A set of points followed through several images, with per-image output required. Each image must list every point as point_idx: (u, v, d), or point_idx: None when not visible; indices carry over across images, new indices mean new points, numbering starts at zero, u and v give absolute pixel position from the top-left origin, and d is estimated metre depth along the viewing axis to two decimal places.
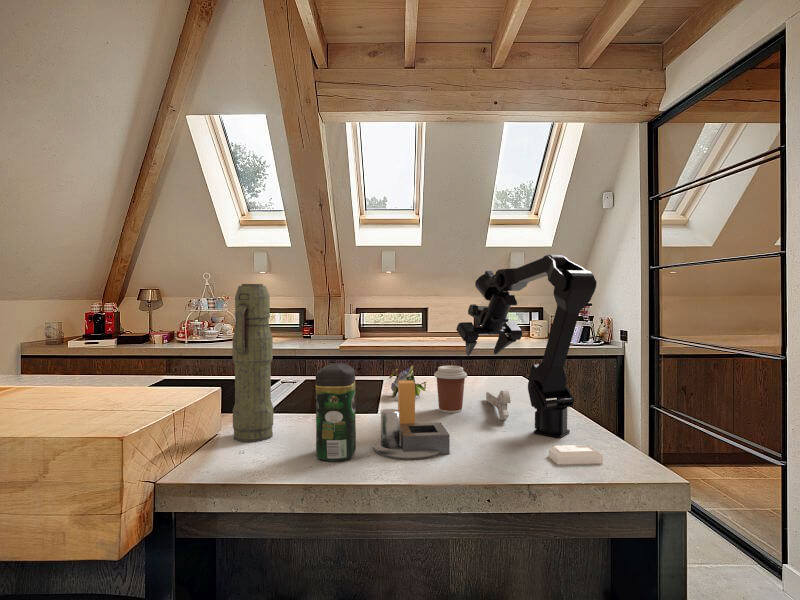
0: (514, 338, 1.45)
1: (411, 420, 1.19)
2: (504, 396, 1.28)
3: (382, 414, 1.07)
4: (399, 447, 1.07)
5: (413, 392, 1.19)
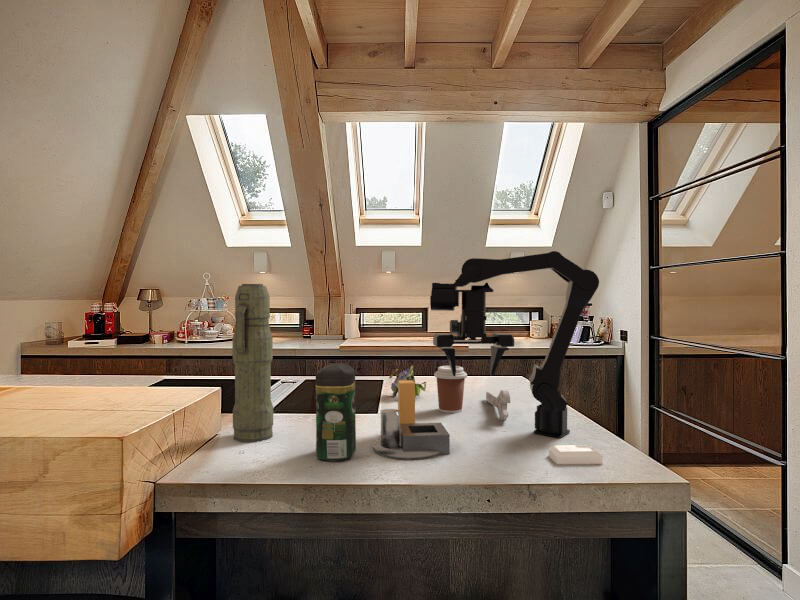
0: (504, 344, 1.21)
1: (411, 420, 1.19)
2: (504, 396, 1.28)
3: (382, 414, 1.07)
4: (399, 447, 1.07)
5: (413, 392, 1.19)
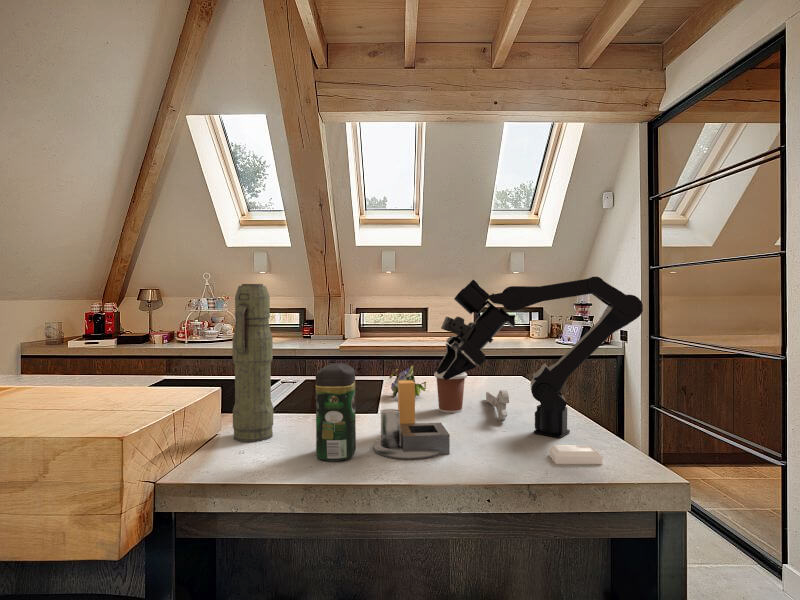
0: None
1: (411, 420, 1.19)
2: (503, 396, 1.28)
3: (382, 414, 1.07)
4: (399, 447, 1.07)
5: (413, 392, 1.19)
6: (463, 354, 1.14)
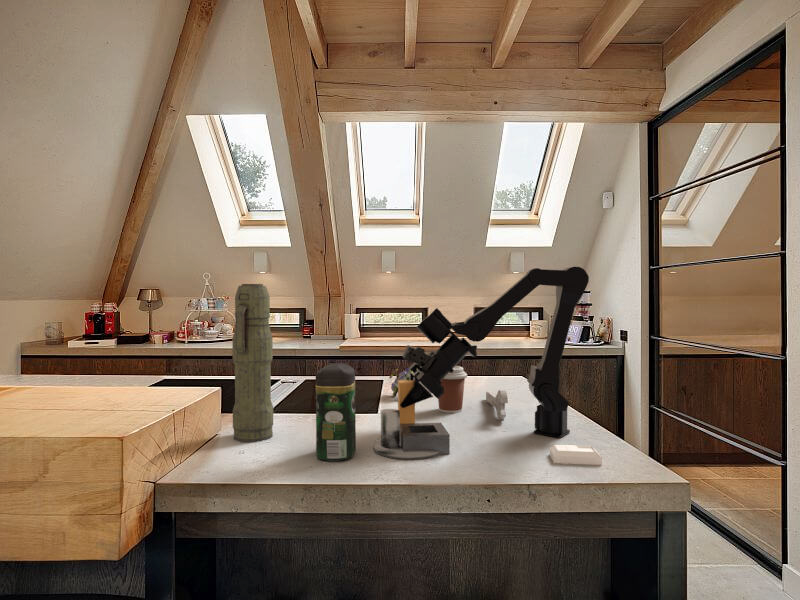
0: None
1: (411, 420, 1.19)
2: (501, 396, 1.28)
3: (382, 414, 1.07)
4: (399, 447, 1.07)
5: None
6: (420, 384, 1.16)
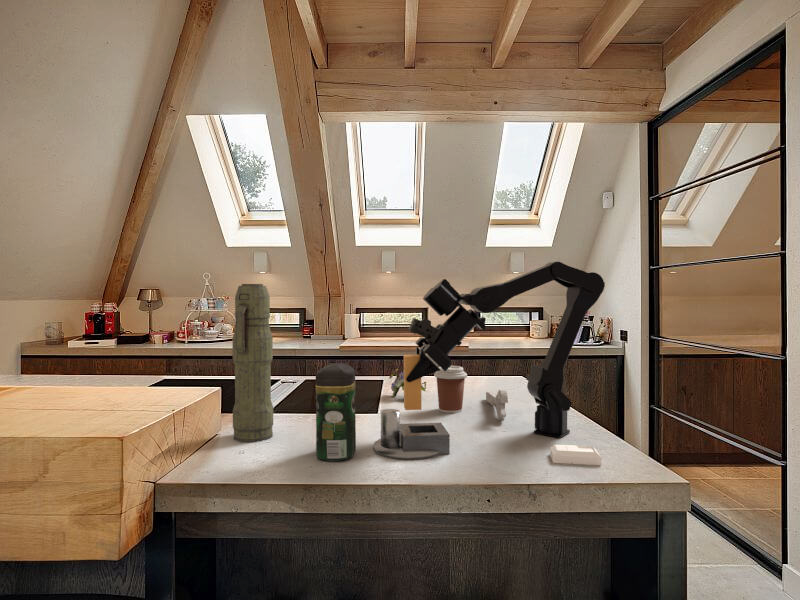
0: None
1: (417, 395, 1.15)
2: (501, 396, 1.28)
3: (382, 414, 1.07)
4: (399, 447, 1.07)
5: None
6: (426, 356, 1.11)
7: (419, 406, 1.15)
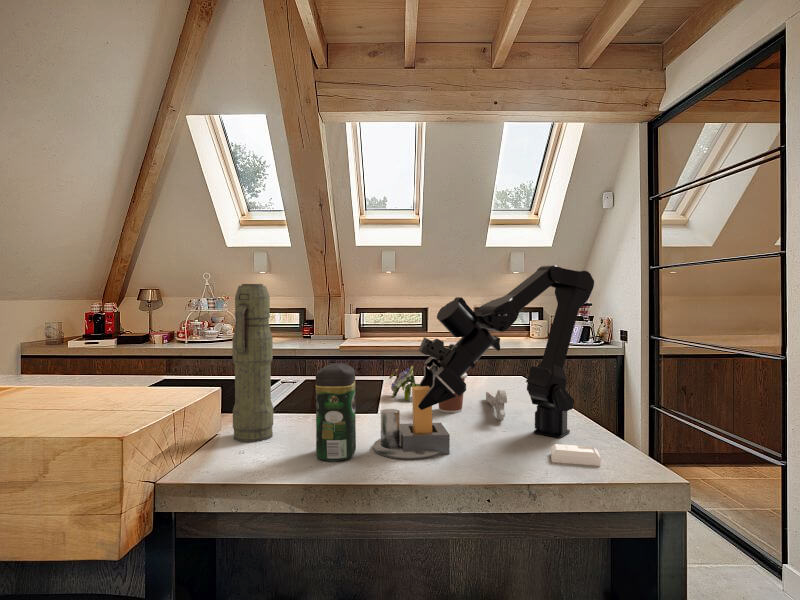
0: None
1: (428, 430, 1.08)
2: (501, 396, 1.28)
3: (382, 414, 1.07)
4: (399, 447, 1.07)
5: None
6: (441, 382, 1.02)
7: None
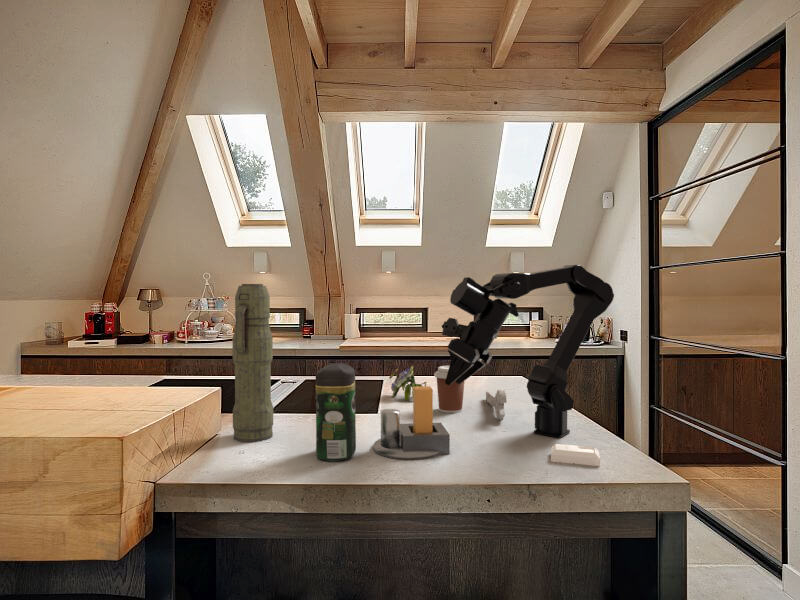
0: (487, 361, 1.20)
1: (428, 430, 1.08)
2: (500, 396, 1.28)
3: (382, 414, 1.07)
4: (399, 447, 1.07)
5: (430, 399, 1.07)
6: (453, 353, 1.08)
7: None
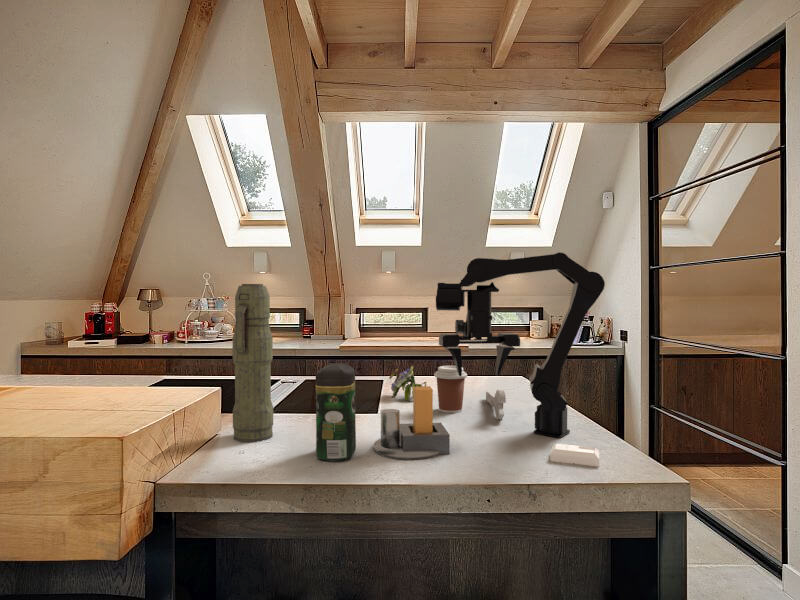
0: (510, 344, 1.21)
1: (428, 430, 1.08)
2: (499, 395, 1.28)
3: (382, 414, 1.07)
4: (399, 447, 1.07)
5: (430, 399, 1.07)
6: (445, 347, 1.24)
7: None
